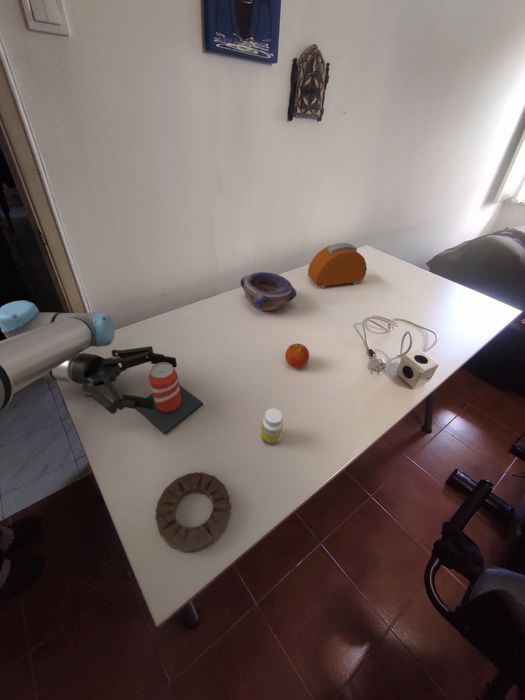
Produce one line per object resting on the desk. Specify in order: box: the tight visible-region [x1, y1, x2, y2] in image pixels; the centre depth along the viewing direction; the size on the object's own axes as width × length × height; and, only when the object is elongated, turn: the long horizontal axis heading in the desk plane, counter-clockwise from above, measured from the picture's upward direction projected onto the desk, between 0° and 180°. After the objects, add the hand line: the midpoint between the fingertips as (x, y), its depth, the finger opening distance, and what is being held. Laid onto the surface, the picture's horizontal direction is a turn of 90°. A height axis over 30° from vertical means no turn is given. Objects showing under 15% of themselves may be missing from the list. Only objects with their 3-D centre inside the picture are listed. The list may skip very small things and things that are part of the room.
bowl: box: [240, 271, 297, 312], centre depth 115 cm, size 18×18×10 cm
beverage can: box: [148, 362, 182, 412], centre depth 74 cm, size 6×6×12 cm
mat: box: [135, 384, 204, 436], centre depth 79 cm, size 12×12×1 cm
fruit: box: [284, 342, 310, 368], centre depth 91 cm, size 7×7×8 cm
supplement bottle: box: [260, 407, 284, 446], centre depth 71 cm, size 5×5×8 cm
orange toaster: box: [307, 242, 368, 289], centre depth 130 cm, size 23×9×17 cm, turn 108°
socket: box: [154, 471, 232, 554], centre depth 59 cm, size 14×14×2 cm
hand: (165, 382), depth 73 cm, fingers open, 13 cm apart
